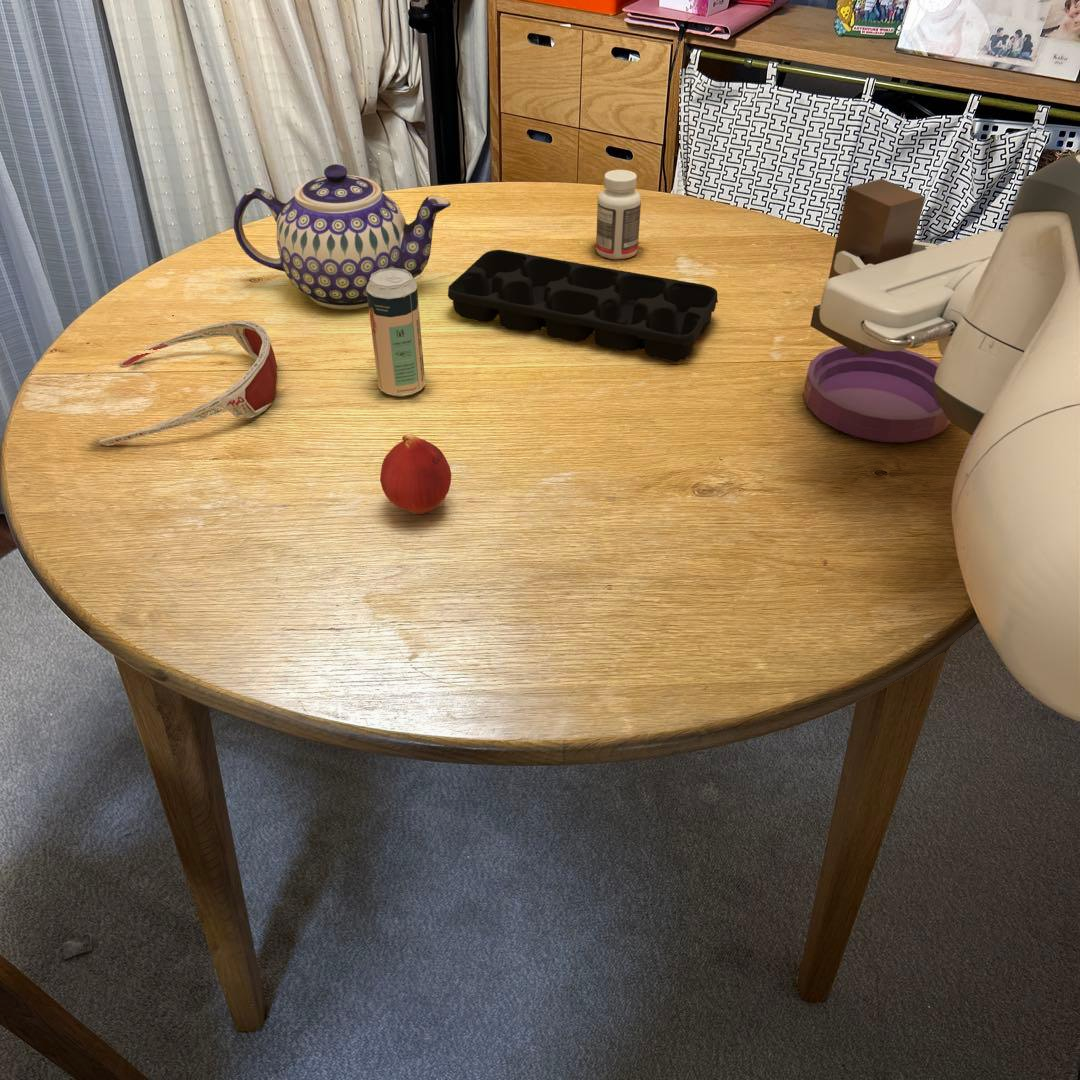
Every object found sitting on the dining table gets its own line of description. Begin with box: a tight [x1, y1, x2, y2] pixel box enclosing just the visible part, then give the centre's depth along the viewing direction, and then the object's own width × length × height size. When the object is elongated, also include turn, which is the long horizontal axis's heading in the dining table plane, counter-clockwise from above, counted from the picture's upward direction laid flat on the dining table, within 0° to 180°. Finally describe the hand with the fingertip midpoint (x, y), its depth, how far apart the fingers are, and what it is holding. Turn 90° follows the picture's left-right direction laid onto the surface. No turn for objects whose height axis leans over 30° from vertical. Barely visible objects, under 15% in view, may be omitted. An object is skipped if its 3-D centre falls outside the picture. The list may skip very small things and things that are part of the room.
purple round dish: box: [802, 345, 951, 443], centre depth 94 cm, size 14×14×3 cm
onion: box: [379, 433, 452, 515], centre depth 80 cm, size 6×6×8 cm
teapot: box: [233, 163, 452, 311], centre depth 110 cm, size 25×15×15 cm, turn 85°
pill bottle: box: [595, 169, 642, 260], centre depth 120 cm, size 5×5×10 cm
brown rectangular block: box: [810, 178, 926, 356], centre depth 83 cm, size 6×4×13 cm
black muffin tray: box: [447, 249, 719, 363], centre depth 108 cm, size 18×30×4 cm, turn 79°
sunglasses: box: [98, 320, 278, 447], centre depth 96 cm, size 17×17×5 cm
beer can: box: [366, 268, 426, 398], centre depth 94 cm, size 5×5×12 cm
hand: (864, 251), depth 83 cm, fingers closed on brown rectangular block, 4 cm apart
